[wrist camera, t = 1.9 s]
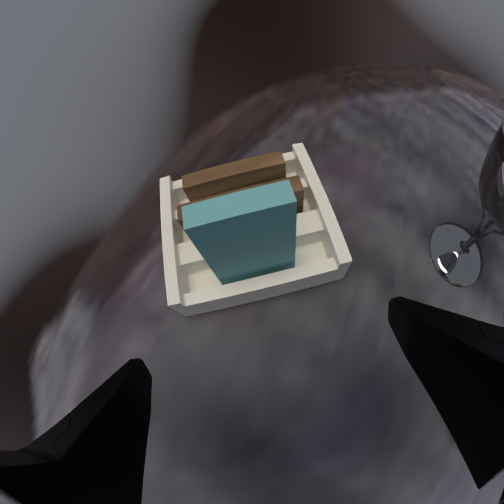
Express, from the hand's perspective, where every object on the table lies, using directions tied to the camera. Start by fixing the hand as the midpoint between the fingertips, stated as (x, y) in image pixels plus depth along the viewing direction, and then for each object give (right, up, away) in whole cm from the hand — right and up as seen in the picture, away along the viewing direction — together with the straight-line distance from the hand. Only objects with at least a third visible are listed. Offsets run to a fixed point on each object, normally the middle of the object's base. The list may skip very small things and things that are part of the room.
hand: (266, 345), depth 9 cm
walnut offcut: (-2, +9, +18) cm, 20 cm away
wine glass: (+20, +3, +14) cm, 25 cm away
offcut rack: (-1, +5, +17) cm, 18 cm away
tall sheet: (0, +2, +15) cm, 15 cm away
